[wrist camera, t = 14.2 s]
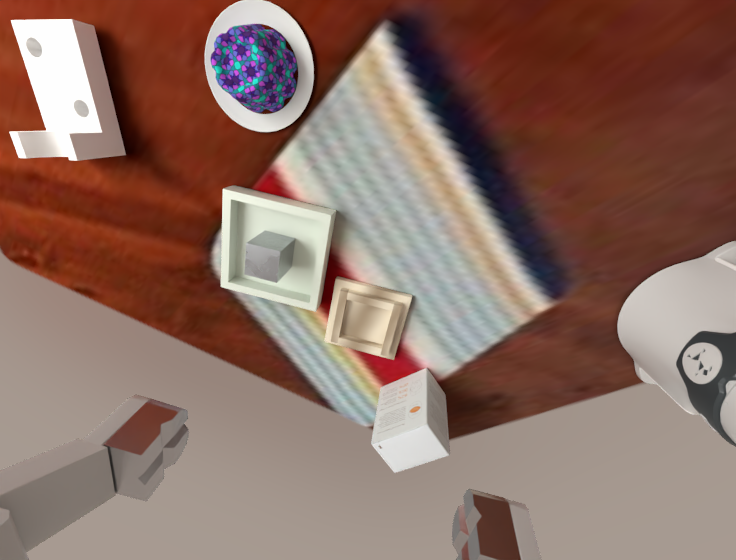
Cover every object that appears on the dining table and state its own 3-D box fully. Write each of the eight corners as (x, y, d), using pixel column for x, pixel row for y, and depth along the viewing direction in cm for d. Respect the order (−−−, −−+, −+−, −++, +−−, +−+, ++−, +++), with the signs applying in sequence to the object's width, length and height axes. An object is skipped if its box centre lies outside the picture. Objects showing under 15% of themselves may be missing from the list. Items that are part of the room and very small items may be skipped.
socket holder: (412, 295, 45) (411, 301, 44) (394, 356, 49) (393, 364, 48) (337, 276, 46) (333, 281, 44) (325, 338, 50) (322, 345, 48)
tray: (336, 210, 42) (331, 215, 40) (321, 302, 48) (315, 311, 46) (233, 185, 43) (222, 188, 41) (230, 279, 48) (220, 287, 46)
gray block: (295, 238, 44) (280, 251, 39) (291, 267, 46) (276, 283, 41) (264, 230, 44) (246, 242, 40) (262, 259, 46) (244, 274, 41)
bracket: (131, 154, 44) (77, 160, 37) (81, 152, 45) (18, 157, 38) (101, 27, 38) (30, 7, 31) (44, 28, 39) (-36, 8, 32)
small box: (399, 412, 54) (393, 474, 44) (379, 385, 52) (369, 444, 43) (447, 394, 51) (451, 457, 41) (427, 366, 49) (427, 424, 40)
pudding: (243, 148, 41) (219, 152, 37) (188, 36, 37) (153, 24, 33) (334, 104, 38) (321, 102, 33) (283, -24, 34) (260, -48, 29)
